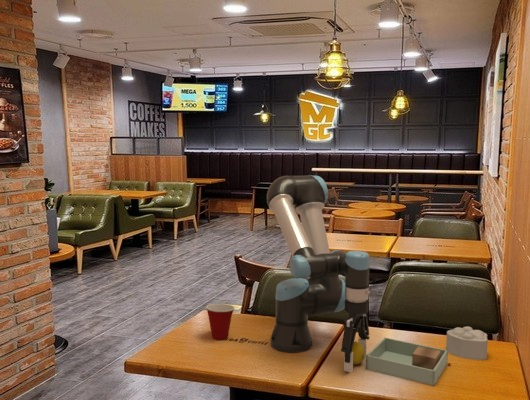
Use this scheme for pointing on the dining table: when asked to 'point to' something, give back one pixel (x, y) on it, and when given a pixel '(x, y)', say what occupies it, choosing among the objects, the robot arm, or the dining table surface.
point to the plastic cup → (220, 320)
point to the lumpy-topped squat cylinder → (467, 343)
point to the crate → (403, 361)
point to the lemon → (357, 353)
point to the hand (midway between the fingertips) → (355, 364)
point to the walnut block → (425, 357)
